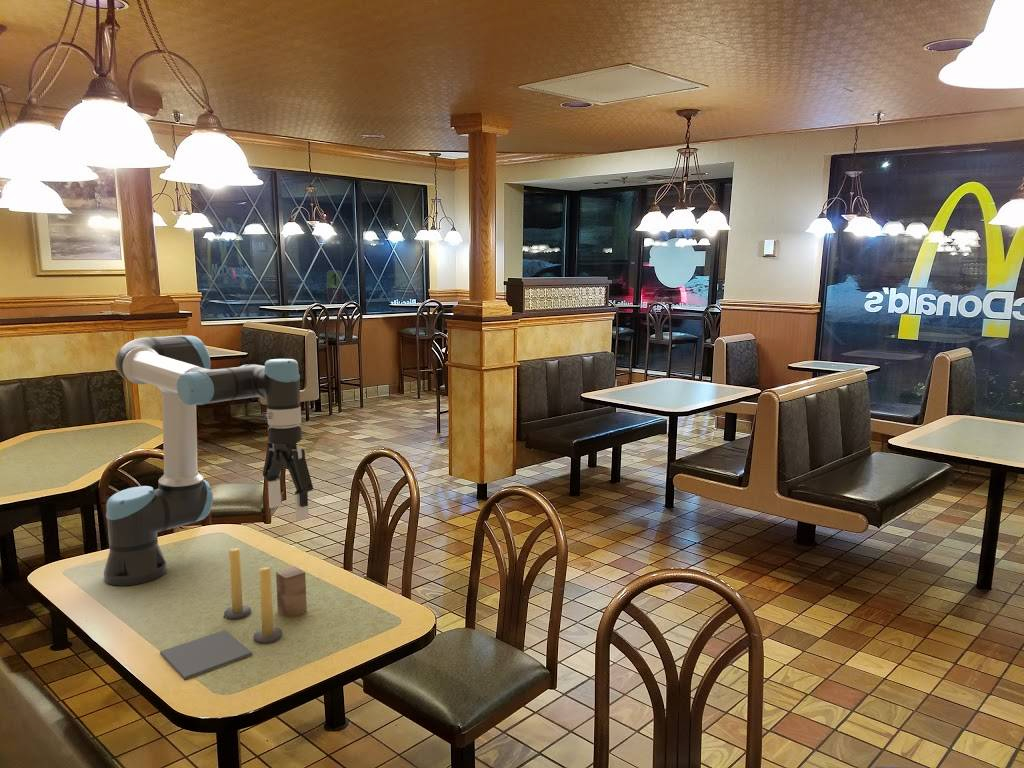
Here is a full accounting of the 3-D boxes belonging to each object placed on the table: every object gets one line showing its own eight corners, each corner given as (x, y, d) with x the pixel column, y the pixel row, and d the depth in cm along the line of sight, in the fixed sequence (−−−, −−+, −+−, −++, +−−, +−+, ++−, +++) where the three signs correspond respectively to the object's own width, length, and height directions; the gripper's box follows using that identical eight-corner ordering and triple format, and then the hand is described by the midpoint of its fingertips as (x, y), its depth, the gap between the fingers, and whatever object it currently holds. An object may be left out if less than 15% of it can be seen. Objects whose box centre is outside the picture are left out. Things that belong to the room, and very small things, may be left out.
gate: (220, 613, 171) (216, 549, 169) (244, 605, 175) (241, 543, 173) (261, 646, 156) (257, 576, 153) (286, 637, 160) (283, 569, 158)
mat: (160, 654, 152) (160, 651, 152) (225, 632, 162) (224, 629, 162) (184, 679, 142) (184, 677, 142) (252, 654, 152) (252, 652, 152)
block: (277, 611, 173) (275, 572, 171) (296, 605, 176) (295, 566, 175) (287, 618, 169) (285, 578, 168) (306, 611, 172) (305, 572, 171)
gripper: (245, 420, 172) (250, 505, 175) (295, 435, 155) (299, 529, 158) (274, 416, 178) (278, 498, 180) (326, 430, 160) (329, 521, 163)
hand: (288, 513), depth 169 cm, fingers open, 13 cm apart
